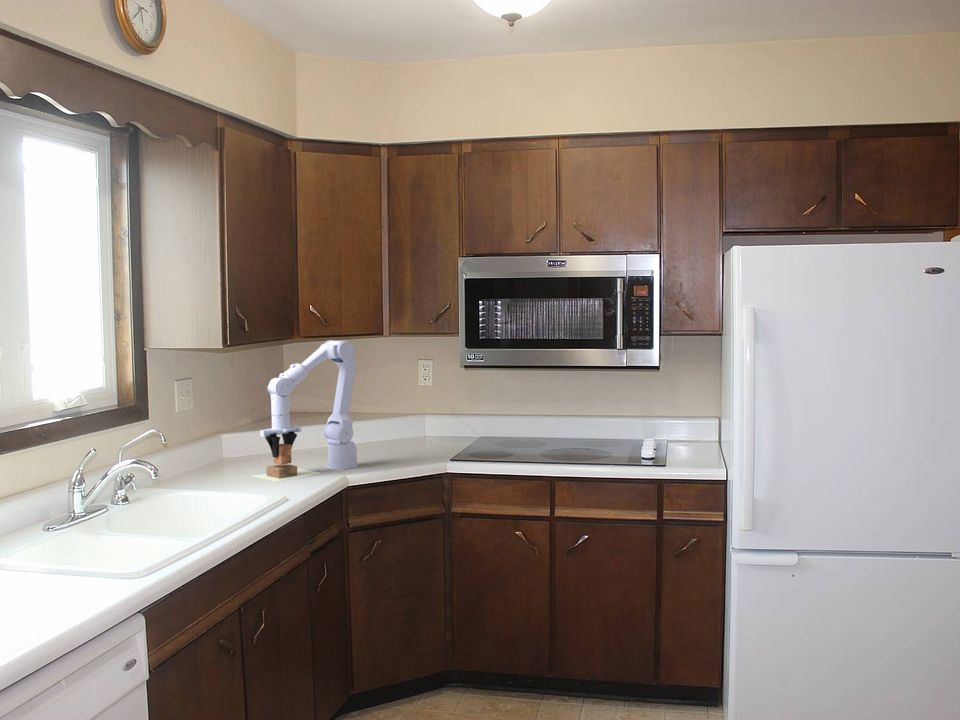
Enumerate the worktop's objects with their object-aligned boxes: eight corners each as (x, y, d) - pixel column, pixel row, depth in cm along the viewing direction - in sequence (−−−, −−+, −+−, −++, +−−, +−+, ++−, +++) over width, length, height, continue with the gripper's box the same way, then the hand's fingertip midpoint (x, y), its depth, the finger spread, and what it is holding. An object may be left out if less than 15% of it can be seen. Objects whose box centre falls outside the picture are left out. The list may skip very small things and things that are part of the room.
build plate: (297, 469, 283) (297, 468, 283) (322, 474, 274) (322, 473, 274) (251, 477, 270) (251, 476, 269) (276, 482, 260) (276, 481, 260)
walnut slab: (284, 472, 275) (284, 463, 275) (297, 475, 270) (297, 466, 270) (266, 475, 270) (266, 466, 270) (279, 478, 265) (279, 469, 265)
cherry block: (284, 461, 272) (283, 443, 272) (291, 462, 270) (291, 444, 269) (273, 463, 269) (273, 444, 269) (281, 464, 267) (280, 446, 266)
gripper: (268, 417, 261) (269, 460, 262) (306, 413, 272) (307, 454, 272) (255, 416, 266) (256, 458, 266) (293, 411, 276) (294, 452, 277)
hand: (281, 456), depth 270 cm, fingers closed on cherry block, 4 cm apart
